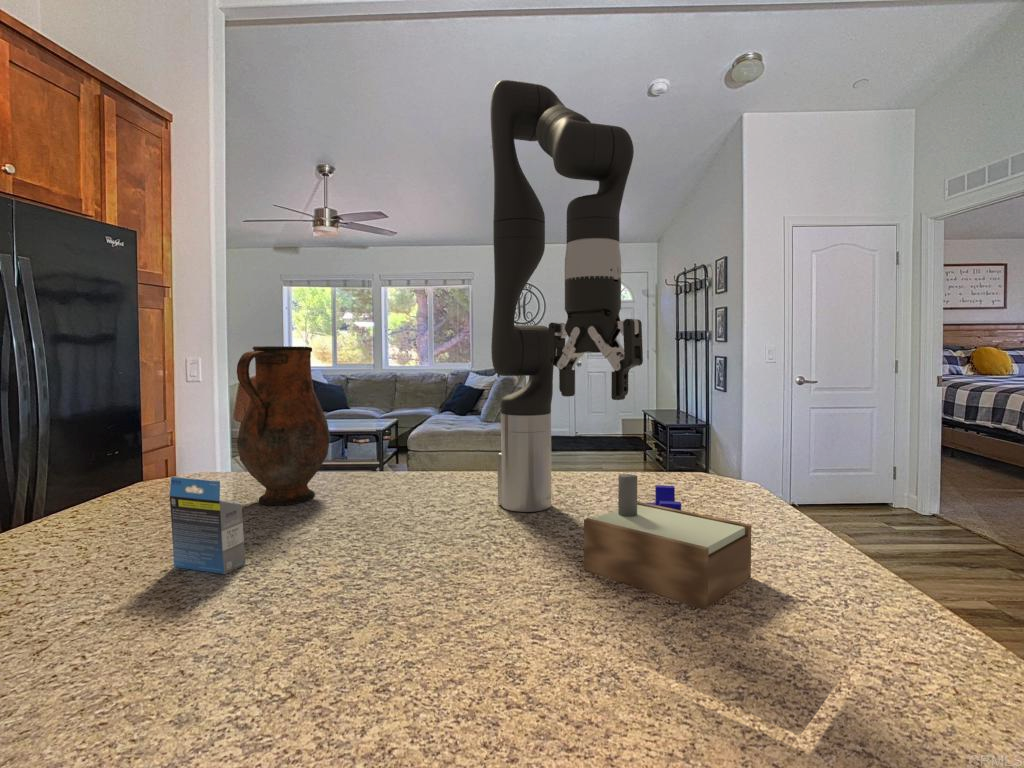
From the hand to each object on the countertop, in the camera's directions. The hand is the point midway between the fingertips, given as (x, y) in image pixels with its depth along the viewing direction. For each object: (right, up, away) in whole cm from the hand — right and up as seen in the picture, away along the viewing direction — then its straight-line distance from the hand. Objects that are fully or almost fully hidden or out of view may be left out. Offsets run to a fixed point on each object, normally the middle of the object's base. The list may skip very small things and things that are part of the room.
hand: (592, 397), depth 77 cm
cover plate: (+8, -16, -7) cm, 19 cm away
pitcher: (-56, -21, +32) cm, 68 cm away
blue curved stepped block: (+13, -22, +13) cm, 28 cm away
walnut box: (+8, -22, -7) cm, 25 cm away
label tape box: (-51, -23, -2) cm, 56 cm away
